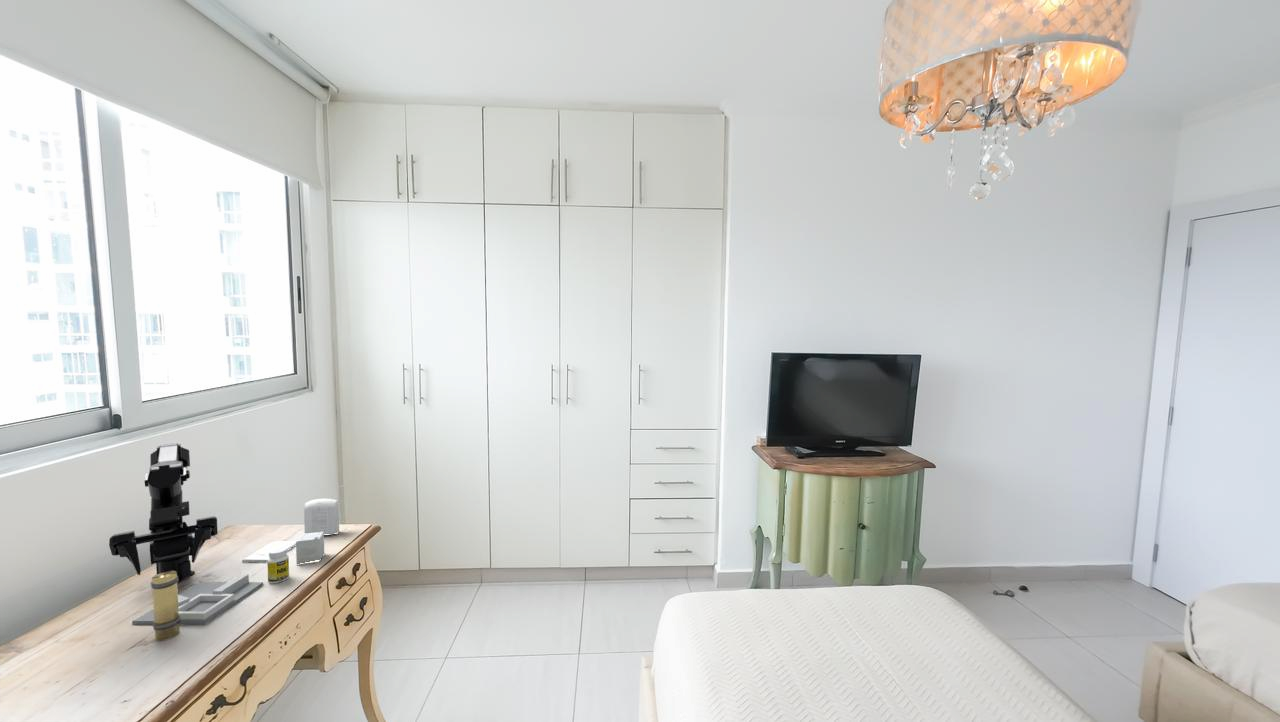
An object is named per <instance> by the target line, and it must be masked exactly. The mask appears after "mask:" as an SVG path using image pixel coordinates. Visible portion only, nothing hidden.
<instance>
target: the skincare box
mask: <svg viewBox="0 0 1280 722" xmlns="http://www.w3.org/2000/svg"><path fill="white" fill-rule="evenodd" d="M295 542H296V546H295V549H296V550H295V552H296V553H295V556H296V557H295V558H296V560H295V561H296V565H297V564H300V563H305V562H310V561H315V560H320V559H321V558H322V559H323V557H324V555H325V536H324V532H315V533H305V532H304V533H301V534H300V535H299V536H298V537H297V539H296V541H295ZM323 554H324V555H323ZM322 556H323V557H322ZM322 559H321V560H322Z"/></svg>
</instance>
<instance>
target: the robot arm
mask: <svg viewBox="0 0 1280 722" xmlns="http://www.w3.org/2000/svg"><path fill="white" fill-rule="evenodd" d="M181 445H182V444H181V443H169V444H160V445H158V446H156V450H155V451H154V452H152V453H150V459H149V460H150V467H149V471H146V472H145V477H144V486H145V488H147V487H148V490H149V496H150V497H151V499H150V501H151V502H150V503H151V504H150V516H149V519H148V529H149V530H148V531H150V532H149V533H145V534H141V535H136V533H135V530H131V531H126V532H120V533H115V534H113V535H111V536H110V537H109V540H108V541H109V543H108V545H109V546H108V547H109V550H110V553H111V556H119V557H120V558H126V559H128V561H129V562H130V563H131V565H132V566H133V568H134V570H135V572H136V575H138V576H140V575H141V573H142V568H141V562H140V558H139V550H138V548H137V545H140V544H146V543H149V556H150V565H154V564H156V565H155V566H156V575H157V574H160V573H163V572H167V571H176V572H177V575H178V582H177V584H178V583H180V582H182V581H183V580H185V579H187V578H189V577H190V576H192V575H194V574H196V570H195V571H194V570H192V565H191V563H192V564H193V563H195V561H197V557H198V555H199V553H200V550H201V549H202V547H203V546H204V544H205V543H206V541H208V540H210V539H212V537H214V536H217V535H218V532H219V531H218V518H217V517H216V516H215V515H213V516H207V517H202V518H201V517H200V518H196V520H195V521H196V524H194V525H188V524H187V522H185V521H183V520H184V519H183V517H186V516H189V515H190V501H189V500H188V501H183V490H182V488H183V487H182V486H183V485H184V482H187V481H188V479H190V477H191V475H190V472H191V471H190V470H189V469H188V467H191V458H190V457H191V456H190V449H187V448H185V447H182V446H181ZM193 534H194V536H193ZM190 557H191V560H190Z"/></svg>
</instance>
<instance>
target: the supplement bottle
mask: <svg viewBox="0 0 1280 722" xmlns="http://www.w3.org/2000/svg"><path fill="white" fill-rule="evenodd" d="M289 560H290V559H289V555H288V552H287V548H285V547H280V548H275V549H272V550H271V551H269V559H268V561H267V582H268V583H269V584H279V583H278V582H280V583H282V582H281V581H283V582H285V581H286V580H288V579H289V578H290V562H289ZM288 577H289V578H288ZM287 578H288V579H287ZM284 580H285V581H284Z"/></svg>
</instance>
